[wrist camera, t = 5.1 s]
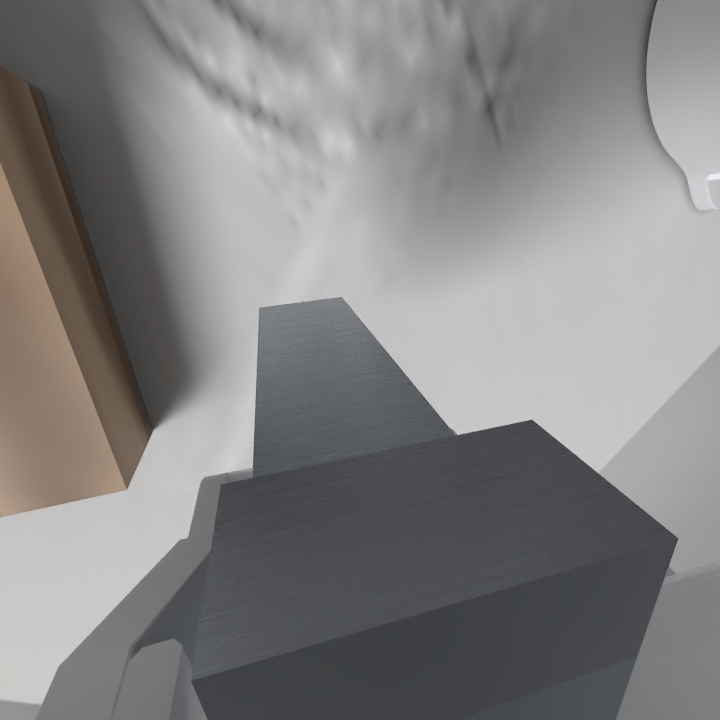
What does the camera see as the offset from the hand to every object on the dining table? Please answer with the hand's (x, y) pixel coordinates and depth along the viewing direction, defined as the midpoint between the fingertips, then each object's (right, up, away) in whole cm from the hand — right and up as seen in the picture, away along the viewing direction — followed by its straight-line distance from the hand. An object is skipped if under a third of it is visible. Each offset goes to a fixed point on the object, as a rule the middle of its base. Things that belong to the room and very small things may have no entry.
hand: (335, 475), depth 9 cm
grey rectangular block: (-1, +2, +4) cm, 4 cm away
